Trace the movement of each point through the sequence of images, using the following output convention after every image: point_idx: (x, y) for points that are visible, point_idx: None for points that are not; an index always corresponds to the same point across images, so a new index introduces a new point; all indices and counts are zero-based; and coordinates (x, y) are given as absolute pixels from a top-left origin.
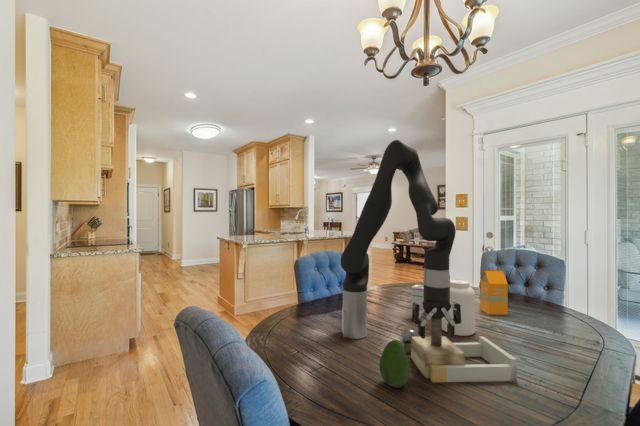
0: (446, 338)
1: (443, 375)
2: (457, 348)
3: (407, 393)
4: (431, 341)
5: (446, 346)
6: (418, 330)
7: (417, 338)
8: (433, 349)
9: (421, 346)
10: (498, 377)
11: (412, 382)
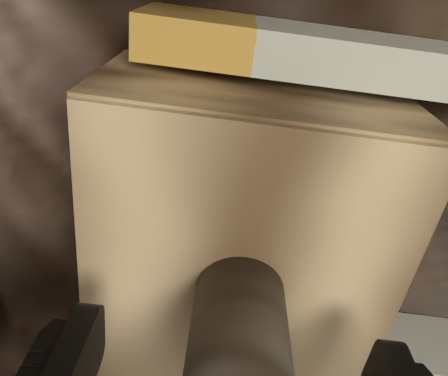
0: (432, 206)
1: None
2: (359, 367)
3: (6, 340)
4: (193, 305)
5: (299, 333)
6: (25, 366)
7: (118, 158)
8: (165, 352)
9: (91, 302)
10: None
11: (48, 286)
